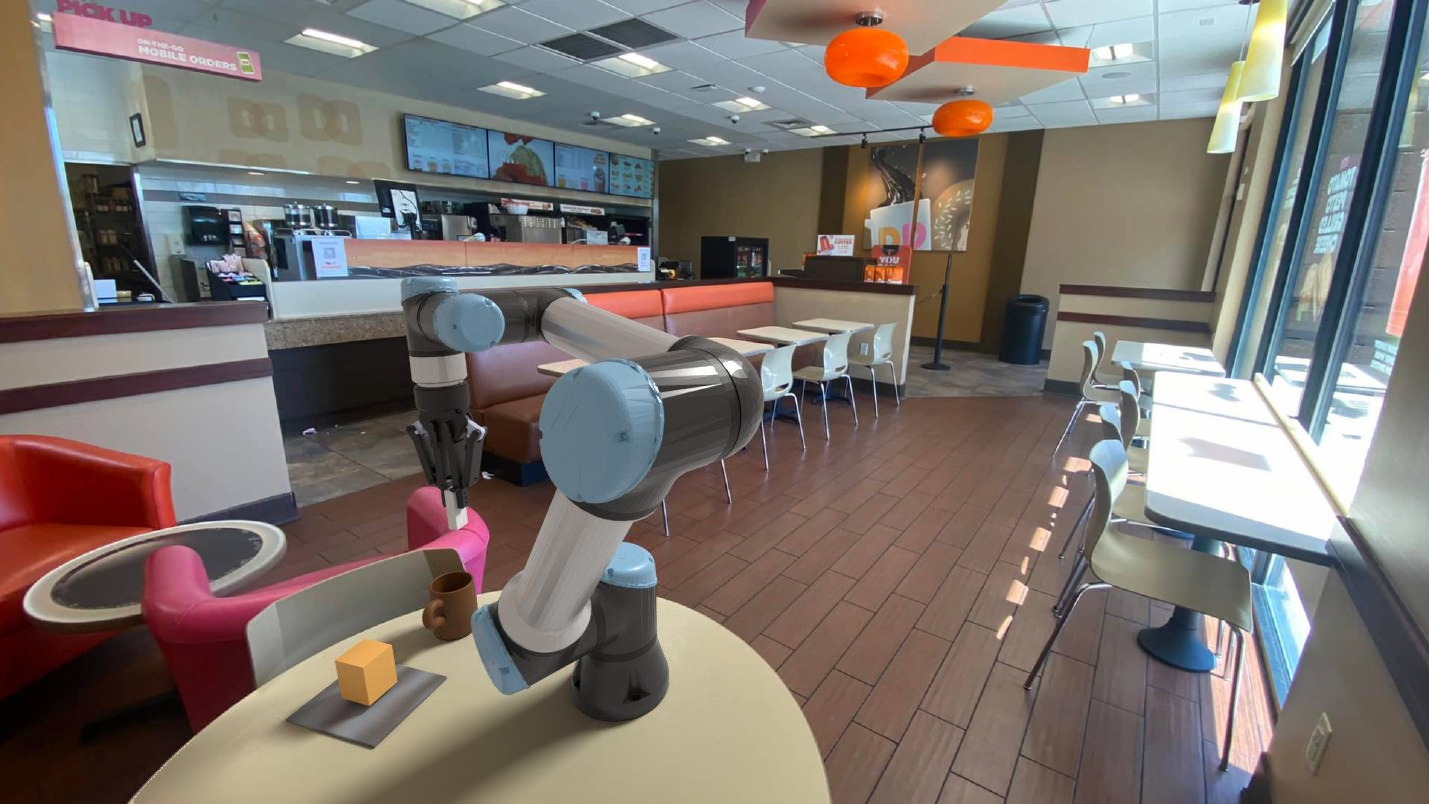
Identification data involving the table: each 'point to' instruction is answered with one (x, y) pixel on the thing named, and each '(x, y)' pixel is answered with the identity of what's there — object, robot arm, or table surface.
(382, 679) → the orange foam cube
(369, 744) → the grey rubber mat
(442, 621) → the mug
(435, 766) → the table surface
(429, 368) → the robot arm
